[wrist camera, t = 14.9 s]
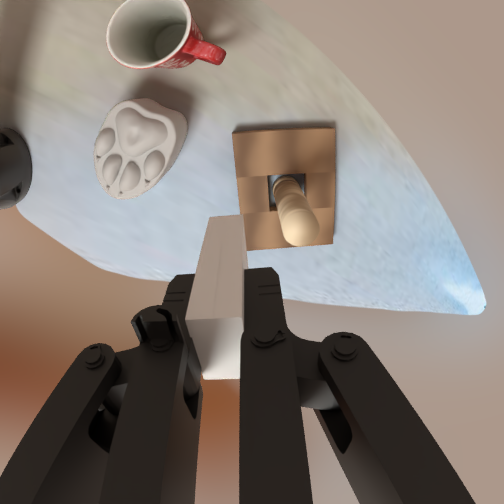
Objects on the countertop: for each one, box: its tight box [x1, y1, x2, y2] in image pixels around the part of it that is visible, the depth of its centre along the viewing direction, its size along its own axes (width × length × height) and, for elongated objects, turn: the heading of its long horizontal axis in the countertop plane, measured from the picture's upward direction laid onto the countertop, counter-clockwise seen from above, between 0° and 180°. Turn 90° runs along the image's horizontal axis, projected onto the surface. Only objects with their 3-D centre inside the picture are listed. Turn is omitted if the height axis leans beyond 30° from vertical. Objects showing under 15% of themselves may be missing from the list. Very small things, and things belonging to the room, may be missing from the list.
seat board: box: [232, 127, 335, 251], centre depth 43 cm, size 14×18×2 cm
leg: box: [272, 176, 320, 246], centre depth 38 cm, size 4×4×14 cm
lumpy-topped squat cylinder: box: [94, 98, 188, 199], centre depth 36 cm, size 10×13×9 cm
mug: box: [106, 0, 226, 69], centre depth 27 cm, size 13×9×14 cm
